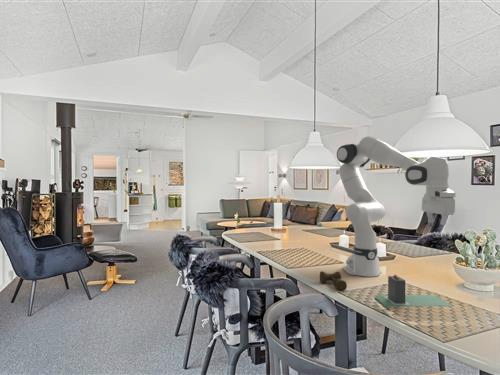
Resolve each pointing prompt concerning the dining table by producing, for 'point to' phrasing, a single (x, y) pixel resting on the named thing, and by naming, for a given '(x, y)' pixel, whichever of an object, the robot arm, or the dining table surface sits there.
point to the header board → (413, 301)
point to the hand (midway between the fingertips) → (436, 223)
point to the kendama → (335, 278)
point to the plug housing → (396, 289)
